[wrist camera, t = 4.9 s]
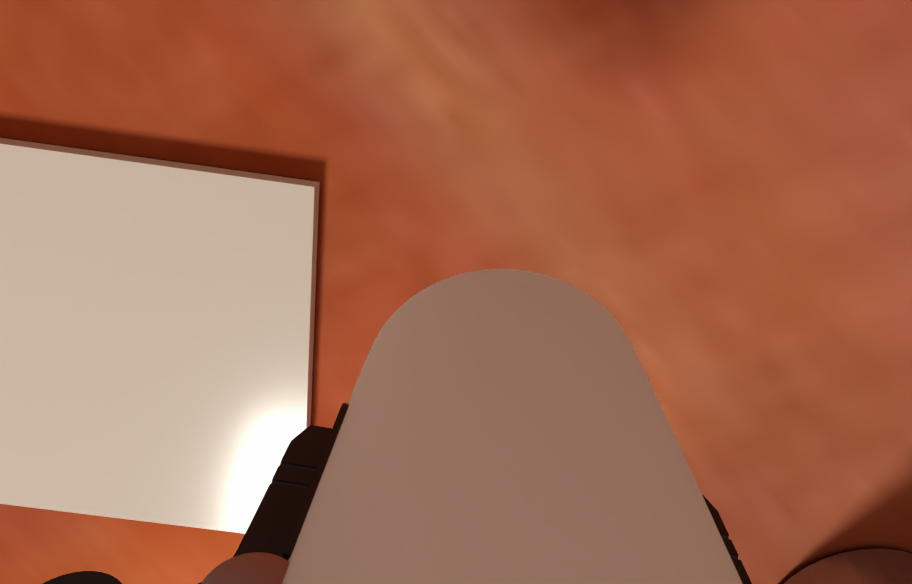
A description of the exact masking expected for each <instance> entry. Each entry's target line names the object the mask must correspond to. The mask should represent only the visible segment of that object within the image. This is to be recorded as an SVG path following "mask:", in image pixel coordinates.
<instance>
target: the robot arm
mask: <svg viewBox="0 0 912 584" xmlns="http://www.w3.org/2000/svg"><path fill="white" fill-rule="evenodd" d="M348 407H349V404H346V403H343V404H342V406H341V408H340V411H339V413H338V416H337V418H336V421H335V423H334V426H333V429H331V428H325V427H319V426H312V425H310V426H309V427H307V428H306V429H305V430H304V431H302V432H301V433H300V434H299V435H297V436H296V437H295V438H294V439H292V440H291V441H290V443H289V445H288V447H287V449H286V452H285V454H284V456H283V458H282V460H281V462H280V466H278V468H277V470H276V472H275V474H274V476H273V478H272V482H271V483H270V484H269V486H268V488H267V490H266V492H265V494H264V496H263V499H262V501H261V503H260V505H259V507H258V509H257V511H256V513H255V515H254V517H253V519H252V521H251V523H250V525H249V527H248V529H247V531H246V533H245V535H244V537H243V539H242V541H241V544H240V546H239V548H238V550H237V551H236V553H235V555H234V556H233V558H231V559H229V560H226V561H225V562H223V563H221V564H220V565H218V566H217V567H216V568H215V569H213V570H212V571H211V572H210V573H209V574H208V575H207V576H206V578H205V579H204V580H203V582H201V583H198V584H282V582H283V580H284V577H285V574H286V572H287V569H288V567H289V564H290V562H289V561H288V560H289V558H290V557H291V555H292V552H293V550H294V547H295V545H296V542H297V539H298V537H299V534H300V532H301V529H302V526H303V524H304V521H305V519H306V516H307V513H308V511H309V508H310V506H311V503H312V500H313V498H314V495H315V492H316V490H317V487H318V485H319V482H320V479H321V477H322V474H323V472H324V469H325V467H326V464H327V461H328V459H329V456H330V454H331V451H332V448H333V446H334V443H335V441H336V438H337V435H338V433H339V430H340V428H341V425H342V423H343V420H344V417H345V415H346V412H347V410H348ZM702 496H703V495H702ZM703 498H704V500H705V502H706V505H707V507H708V509H709V511H710V513H711V515H712V518H713V520H714V522H715V524H716V526H717V529H718V531H719V533H720V535H721V537H722V540H723V542H724V544H725V546H726V548H727V551H728V553H729V555H730V557H731V559H732V562H733V564H734V566H735V568H736V570H737V573H738V575H739V577H740V579H741V581H742V583H743V584H752V583H751V581H750V579H749V577H748V575H747V573H746V570H745V568H744V566H743V564H742V562H741V560H738V553H737V551H736V549H735V547H734V545H733V543H732V541H731V540H729V538H728V536H729V534H728V532H727V530H726V528H725V526H724V524H723V522H722V519H721V517H720V515H719V513H718V511H717V510H716V509H715V508H714V507H713V506H712V504H711V503H710V502H709V501H708V500H707V499H706V498H705V497H704V496H703ZM43 584H122V583H121V582H120V581H119V580H118V579H116V578H115V577H113V576H111V575H109V574H105V573H102V572H95V571H82V572H74V573H70V574H66V575H62V576H59V577H56V578H54V579H51V580H49V581H47V582H45V583H43ZM784 584H912V554H911V553H908V552H905V551H899V550H892V549H861V550H855V551H849V552H843V553H840V554H837V555H834V556H831V557H827V558H824V559H822V560H820V561H818V562H816V563H813V564H811V565H809V566H807V567H805V568H804V569H802V570H801V571H799V572H798V573H796V574H795V575H793V576H792V577H790V578H789V579H788V580H787V581H786V582H785V583H784Z"/></svg>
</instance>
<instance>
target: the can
mask: <svg viewBox="0 0 912 584" xmlns="http://www.w3.org/2000/svg"><path fill="white" fill-rule="evenodd" d="M348 404H349V407H348V410H347V412H346V415H345V417H344V420H343V423H342V425H341V428H340V430H339V433H338V435H337V438H336V441H335V443H334V446H333V448H332V451H331V454H330V456H329V459H328V461H327V464H326V467H325V469H324V472H323V474H322V477H321V479H320V482H319V485H318V487H317V490H316V492H315V495H314V498H313V500H312V503H311V506H310V508H309V511H308V513H307V516H306V519H305V521H304V524H303V526H302V529H301V532H300V534H299V537H298V539H297V542H296V545H295V547H294V550H293V552H292V555H291V557H290V558H289V560H288V561H289V562H290V564H289V567H288V569H287V572H286V574H285V577H284V580H283V582H282V584H743V583H742V581H741V579H740V577H739V575H738V573H737V570H736V568H735V566H734V564H733V562H732V559H731V557H730V555H729V553H728V551H727V548H726V546H725V544H724V542H723V540H722V537H721V535H720V533H719V531H718V529H717V526H716V524H715V522H714V520H713V518H712V515H711V513H710V511H709V509H708V507H707V505H706V502H705V500H704V498H703V496H702V494H701V491H700V489H699V487H698V485H697V483H696V481H695V478H694V476H693V474H692V472H691V470H690V468H689V465H688V463H687V461H686V459H685V457H684V454H683V452H682V450H681V448H680V446H679V444H678V441H677V439H676V437H675V435H674V433H673V430H672V428H671V426H670V424H669V422H668V420H667V417H666V415H665V413H664V411H663V409H662V407H661V405H660V402H659V400H658V398H657V396H656V394H655V392H654V389H653V387H652V385H651V383H650V381H649V379H648V377H647V375H646V372H645V370H644V368H643V366H642V364H641V362H640V360H639V358H638V356H637V354H636V352H635V350H634V348H633V346H632V344H631V342H630V340H629V338H628V337H627V335H626V333H625V332H624V330H623V329H622V327H621V326H620V325H619V323H618V322H617V321H616V319H615V318H614V317H613V316H612V315H611V314H610V313H609V312H608V311H607V310H606V309H605V308H604V307H603V306H602V305H601V304H600V303H599V302H598V301H596V300H595V299H594V298H592V297H591V296H590V295H588V294H587V293H585V292H583V291H582V290H580V289H578V288H577V287H575V286H573V285H571V284H569V283H566V282H564V281H562V280H559V279H557V278H554V277H551V276H548V275H544V274H540V273H536V272H531V271H525V270H517V269H487V270H478V271H472V272H467V273H463V274H459V275H456V276H453V277H449V278H447V279H444V280H442V281H439V282H437V283H435V284H433V285H431V286H429V287H427V288H425V289H423V290H422V291H420V292H419V293H417V294H416V295H414V296H413V297H411V298H410V299H409V300H407V301H406V302H405V303H404V304H403V305H401V306H400V307H399V308H398V309H397V310H396V311H395V312H394V313H393V314H392V316H391V317H390V318H389V319H388V320H387V322H386V323H385V324H384V326H383V327H382V329H381V330H380V332H379V334H378V335H377V337H376V339H375V341H374V343H373V345H372V347H371V349H370V352H369V354H368V356H367V358H366V361H365V363H364V366H363V368H362V371H361V373H360V376H359V378H358V380H357V383H356V385H355V388H354V391H353V393H352V396H351V398H350V401H349V403H348Z"/></svg>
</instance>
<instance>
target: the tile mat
mask: <svg viewBox="0 0 912 584" xmlns="http://www.w3.org/2000/svg"><path fill="white" fill-rule="evenodd" d="M319 186H320V182H317V181H310V180H303V179H295V178H288V177H281V176H274V175H267V174H259V173H252V172H245V171H238V170H230V169H223V168H216V167H209V166H201V165H194V164H187V163H180V162H173V161H165V160H158V159H151V158H144V157H136V156H129V155H122V154H115V153H108V152H100V151H93V150H86V149H79V148H71V147H64V146H57V145H50V144H42V143H35V142H28V141H21V140H14V139H6V138H0V504H7V505H15V506H23V507H32V508H40V509H48V510H56V511H64V512H73V513H81V514H89V515H97V516H105V517H114V518H122V519H130V520H138V521H146V522H155V523H163V524H171V525H179V526H187V527H195V528H204V529H212V530H220V531H228V532H236V533H246V531H247V529H248V527H249V525H250V523H251V521H252V519H253V517H254V515H255V513H256V511H257V509H258V507H259V505H260V503H261V501H262V499H263V496H264V494H265V492H266V490H267V488H268V486H269V484H270V483H271V482H272V478H273V476H274V474H275V472H276V470H277V468H278V466H280V462H281V460H282V458H283V456H284V454H285V452H286V449H287V447H288V445H289V443H290V441H291V440H292V439H294V438H295V437H296V436H297V435H299V434H300V433H301V432H302V431H304V430H305V429H306V428H307V427H309V426H310V425H311V399H312V373H313V346H314V319H315V293H316V266H317V240H318V213H319Z"/></svg>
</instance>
